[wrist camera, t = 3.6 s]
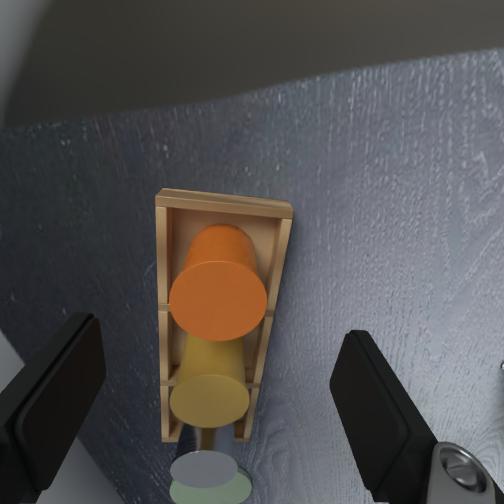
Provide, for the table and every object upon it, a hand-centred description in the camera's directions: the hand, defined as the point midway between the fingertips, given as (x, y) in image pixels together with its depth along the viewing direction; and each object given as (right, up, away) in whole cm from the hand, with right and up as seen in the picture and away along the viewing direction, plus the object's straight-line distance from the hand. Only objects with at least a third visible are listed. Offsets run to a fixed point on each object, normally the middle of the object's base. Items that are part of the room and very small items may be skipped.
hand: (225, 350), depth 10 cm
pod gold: (-2, -3, +10) cm, 11 cm away
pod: (-1, +4, +7) cm, 8 cm away
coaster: (-4, -22, +20) cm, 30 cm away
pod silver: (-3, -9, +13) cm, 16 cm away
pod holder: (-2, -2, +11) cm, 11 cm away
